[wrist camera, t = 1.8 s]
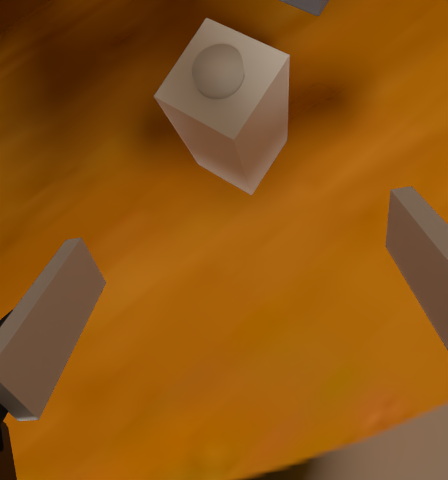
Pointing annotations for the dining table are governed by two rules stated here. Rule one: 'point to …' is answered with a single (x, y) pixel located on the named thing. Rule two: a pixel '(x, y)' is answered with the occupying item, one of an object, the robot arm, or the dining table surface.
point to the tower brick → (229, 103)
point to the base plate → (308, 5)
